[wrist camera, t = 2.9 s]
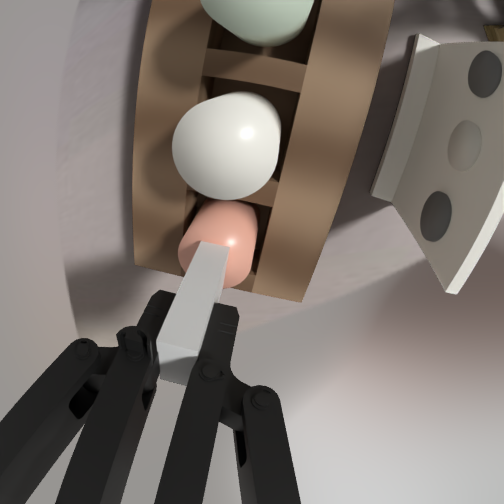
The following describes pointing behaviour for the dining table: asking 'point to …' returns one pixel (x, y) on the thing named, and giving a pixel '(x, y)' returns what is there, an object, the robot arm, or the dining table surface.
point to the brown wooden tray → (292, 128)
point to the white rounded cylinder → (228, 145)
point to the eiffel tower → (495, 33)
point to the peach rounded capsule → (224, 235)
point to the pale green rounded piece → (261, 19)
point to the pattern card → (448, 153)
